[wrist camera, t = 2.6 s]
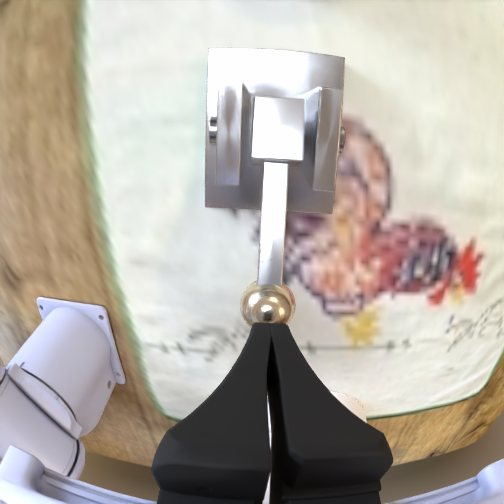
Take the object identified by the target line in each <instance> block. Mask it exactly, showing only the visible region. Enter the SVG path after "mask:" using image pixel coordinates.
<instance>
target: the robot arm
mask: <svg viewBox="0 0 504 504" xmlns="http://www.w3.org/2000/svg"><path fill="white" fill-rule="evenodd" d="M36 302H37V305H38V308H39V311H40V314H41V317H42V320H43V322H42V323H41V324H40V325H39V326H38V328H37V329H36V330H35V331H34V332H33V334H32V335H31V336H30V337H29V338H28V340H27V341H26V342H25V343H24V345H23V346H22V347H21V348H20V350H19V351H18V352H17V353H16V355H15V356H14V357H13V358H12V360H11V361H10V362H9V364H8V365H7V366H6V367H4V366H3V365H2V364H1V363H0V460H1V461H2V462H1V463H0V504H262V502H263V500H264V497H265V493H266V489H267V485H268V480H269V476H270V494H269V504H381V502H380V497H379V491H380V490H381V484H380V479H381V478H382V476H383V475H384V474H385V473H386V472H387V471H388V469H389V468H390V467H391V465H392V463H393V456H392V453H391V449H390V447H389V444H388V442H387V440H386V438H385V436H384V434H383V433H382V432H380V431H379V430H377V429H375V428H374V427H372V426H371V425H369V424H367V423H366V422H364V421H363V420H362V419H360V418H359V417H358V416H356V415H355V414H354V413H352V412H351V411H350V410H349V409H348V408H347V407H346V406H344V405H343V404H342V403H341V402H340V401H339V400H338V399H337V398H336V397H335V396H334V395H333V394H332V393H331V392H330V391H329V390H328V389H327V388H326V386H325V385H324V384H323V383H322V382H321V380H320V379H319V378H318V377H317V375H316V374H315V373H314V371H313V370H312V368H311V367H310V366H309V364H308V363H307V361H306V359H305V358H304V356H303V355H302V353H301V351H300V350H299V348H298V346H297V344H296V342H295V340H294V338H293V336H292V334H291V332H290V329H289V327H288V325H287V324H286V323H262V322H255V323H253V324H252V328H251V332H250V335H249V337H248V340H247V342H246V344H245V346H244V348H243V350H242V352H241V354H240V356H239V357H238V359H237V361H236V362H235V364H234V365H233V367H232V369H231V370H230V372H229V373H228V374H227V376H226V377H225V379H224V380H223V381H222V382H221V384H220V385H219V386H218V387H217V388H216V389H215V391H214V392H213V393H212V394H211V395H210V396H209V397H208V398H207V399H206V400H205V401H204V402H203V403H202V404H201V405H200V406H199V407H198V408H196V409H195V410H194V411H193V412H192V413H191V414H190V415H188V416H187V417H186V418H184V419H183V420H182V421H180V422H179V423H177V424H176V425H175V426H173V427H172V428H170V429H169V430H168V431H167V432H166V434H165V435H164V437H163V439H162V440H161V442H160V444H159V446H158V449H157V451H156V453H155V457H154V460H153V464H152V468H151V471H152V474H153V476H154V478H155V480H156V482H157V484H158V486H159V487H160V491H159V496H158V500H157V502H153V501H149V500H144V499H140V498H136V497H132V496H128V495H124V494H120V493H117V492H113V491H109V490H106V489H103V488H100V487H97V486H94V485H90V484H88V483H85V482H82V481H79V480H78V479H79V478H80V476H81V474H82V471H83V468H84V464H85V448H84V445H83V443H82V441H81V440H80V439H78V438H79V437H82V436H84V435H86V434H88V433H90V432H91V431H92V430H93V429H94V428H95V427H96V426H97V424H98V422H99V420H100V418H101V416H102V413H103V411H104V409H105V407H106V404H107V402H108V400H109V398H110V395H111V393H112V391H113V389H114V387H115V384H116V383H119V384H124V383H125V381H126V379H125V376H124V372H123V369H122V366H121V363H120V359H119V356H118V352H117V349H116V345H115V341H114V338H113V334H112V330H111V326H110V322H109V318H108V314H107V310H106V309H105V308H104V307H103V306H98V305H91V304H84V303H77V302H70V301H63V300H57V299H51V298H45V297H38V298H37V300H36ZM101 315H102V316H103V317H102V316H101ZM267 393H268V400H267ZM268 404H269V414H270V424H271V448H270V436H269V421H268ZM383 504H504V459H501V460H499V461H497V462H494V463H492V464H490V465H489V466H487V467H485V468H484V469H483V470H482V471H480V472H479V474H478V475H477V476H476V477H473V478H470V479H468V480H465V481H463V482H459V483H457V484H454V485H451V486H448V487H445V488H442V489H438V490H435V491H432V492H429V493H425V494H421V495H417V496H414V497H410V498H405V499H401V500H397V501H393V502H387V503H383Z"/></svg>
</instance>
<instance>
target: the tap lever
mask: <svg viewBox="0 0 504 504" xmlns="http://www.w3.org/2000/svg"><path fill="white" fill-rule="evenodd" d="M304 138H305V100H304V99H296V98H284V97H268V96H254V102H253V121H252V140H251V161H252V164H253V165H263V181H262V201H261V221H260V240H259V259H258V278H257V281H255V282H253V283H252V284H250V285H249V286H248V287H247V288H246V290H245V291H244V293H243V295H242V297H241V302H240V310H241V314H242V317H243V319H244V320H245V322H246V323H247V324H248V325H249V326H250V327H251V328H252V324H253V323H255V322H262V323H286V324H287V325H288V323H289V322H290V321H291V319H292V317H293V315H294V312H295V299H294V296H293V294H292V292H291V290H290V289H289V288H288V287H287V286H286V285H285V284H284V283H283V282H282V275H283V260H284V245H285V229H286V211H287V193H288V172H289V167H297V166H298V165H299V164H300V163H302V162H303V160H304Z"/></svg>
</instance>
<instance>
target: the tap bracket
mask: <svg viewBox="0 0 504 504" xmlns="http://www.w3.org/2000/svg"><path fill="white" fill-rule="evenodd" d="M344 64H345V58H344V57H339V56H333V55H326V54H318V53H309V52H300V51H288V50H274V49H252V48H210V49H209V58H208V79H207V106H206V148H205V207H211V208H236V209H257V210H261V201H262V181H263V165H253V164H252V161H251V140H252V121H253V102H254V96H268V97H284V98H296V99H304V100H305V138H304V160H303V162H302V163H300V164H299V165H298V166H297V167H289V172H288V193H287V211H293V212H309V213H323V214H332V211H333V203H334V194H335V185H336V176H337V166H338V156H339V154H340V153H342V151H343V148H344V144H345V129H344V126H343V125H342V124H341V120H342V105H343V87H344Z"/></svg>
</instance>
